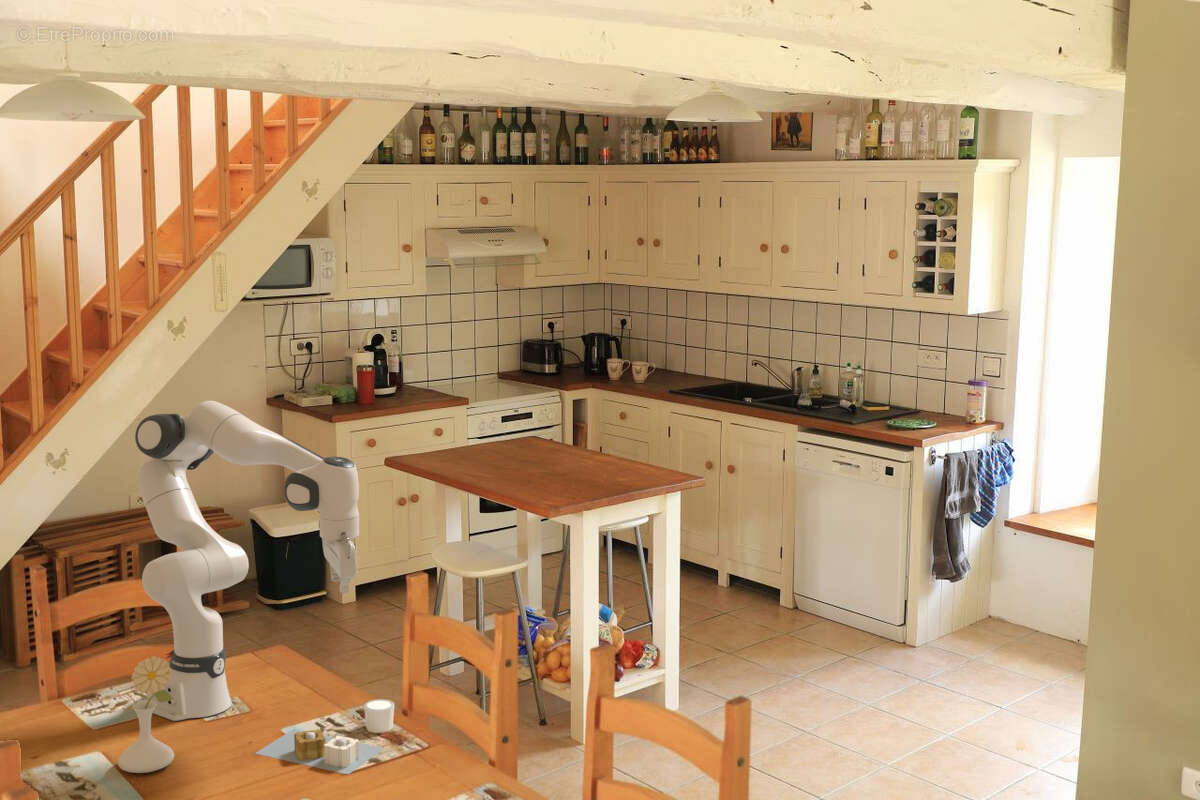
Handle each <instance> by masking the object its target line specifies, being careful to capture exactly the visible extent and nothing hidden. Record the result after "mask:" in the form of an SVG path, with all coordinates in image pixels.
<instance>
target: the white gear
mask: <svg viewBox="0 0 1200 800" xmlns="http://www.w3.org/2000/svg"><path fill="white" fill-rule="evenodd" d="M338 739H346V746H341V747H339V746H337V740H338ZM359 743H360V742H359V739H358V738H356V739H355V738H352V737H347V736H342V735H336V736H335V737H334V739H332V740H330V741H329V742H328V744H324V762H325V764H330V765H334V766H339V767H340V766H342V768H344V767H348V765H350V764H352V763H353V762H355V761H356V759H359Z"/></svg>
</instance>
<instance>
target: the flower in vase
mask: <svg viewBox="0 0 1200 800" xmlns="http://www.w3.org/2000/svg"><path fill="white" fill-rule="evenodd" d="M169 662H170V661H169ZM169 662H168V661H167V660H166V659H163V658H160V657H158V656H155V655H152V657H149V658H148V657H146V658H145V659H144V660H141V661H139V662H138V664H137V666H135V667H134V671H133V672H132V674H131V680H133V681H132V684H133V685H134V687H133V688H134V689H132V688H131V691H132V692H133V694H134V695H137V696H138V697H140V698H141V697H143V698H146V699H148V698H147V697H146V696H145V695H146V694H147V695H151V694H153V695H152V696H151V698H150V699H149V700H146V701H140V702H137V701H136V702H135V703H133V704H132V705H131V709H132V710H133V711H134V712H135V713H136V715H137V719H138V725H139V735H138V738H137V740H136V741H135V742H133V743H132V744H131V745H130V746H128V747H127V748H126V749H124V751H122V753H121V754H120V755H119V757H118V759H117V766H118V767H119V768H120V769H121V770H122V771H124V772H128V773H135V774H144V773H145V774H146V773H151V772H155V771H158V770H161V769H164V768H166V767H167V766H169V765H170V764H171V763H172V762H173V761H174V759H175V753H174V750H173V749H172V748H171V747H170V746H168V745H167V744H165V743H164V742H162V741H161V740H158V739H156V738H154V736H153V735H152V715H153V713H152V712H153V710H154V708H155V707H156V705H157V703H156V702H155V701H150V700H151V699H152V698H153V696H154V694H155V697H156V698H157V700H158V701H159V702H166V701H170V700H173V698H172V697H171V696H170V695H169V693H168V692H167V691H166V690H163V689H164V688H165V687H166V686H167V683H168V682H169V681H170V678H171V675H172V672H170V670H171V668H170V667H168V666H169Z"/></svg>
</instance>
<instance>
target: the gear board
mask: <svg viewBox="0 0 1200 800" xmlns="http://www.w3.org/2000/svg"><path fill="white" fill-rule="evenodd" d="M303 731H304V730H299V729H295V728H293V729H292V730H290V731H288V732H287V733H285V734H283V735H282V736H280V737H279V738H277V739H275V740H273V741H272V742H271V743H269V744H267V745H266V746H264V747H262V748H261V749H259V750H258V751H256V752H254V754H256V755H259V756H264V757H269V758H272V759H277V760H282V761H284V762H285V761H286V762H290V763H295V764H300V765H305V766H307V767H308V766H309V767H313V768H318V769H322V770H324V771H325V770H327V771H331V772H334V773H339V774H344V775H350V774H351V773H353V772H354V771H355V770H357V769H358V768H359V767H361V766H362V765H364V764H365V763H366V762H368V761H369V760H370V759H372V758H373V757H375V756H376V755H378V753H380V752H381V751H383V750H384V749H385V748H384V747H381V746H378V745H377V746H376V745H371V744H366V743H362V742H359V759H356V761H355V762H353V763H352V764H350V765H348V767H344V768H342V766H340V767H339V766H334V765H330V764H325V762H324V757H318V758H313V759H304V760H298V757H297V754H296V752H295V747H294V734H295V733H297V732H300V733H301V732H303ZM323 736H324V738H325V744H328V742H329V741H330V740H332V739H334V738H335V737H333V736H328V735H324V734H323ZM306 739H307V740H309V739H315V733H314V732H308V733H306ZM337 746H339V747H341V746H346V739H338V740H337Z"/></svg>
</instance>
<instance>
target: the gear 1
mask: <svg viewBox="0 0 1200 800" xmlns="http://www.w3.org/2000/svg"><path fill="white" fill-rule="evenodd" d="M302 731H303V732H301V733H300V732H297V733H295V734H294V747H295V752H296V754H297V757H298V760H304V759H313V758H318V757H324V744H325V738H324V736H323V735H324V733H323V729H319V728H317V729H314V730H313V729H312V730H311V729H310V730H302ZM308 732H314V733H315V739H309V740H307V739H306V733H308Z"/></svg>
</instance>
